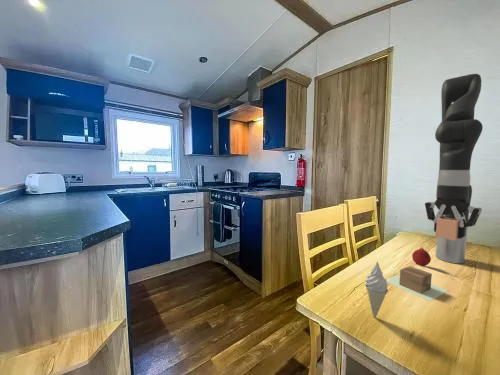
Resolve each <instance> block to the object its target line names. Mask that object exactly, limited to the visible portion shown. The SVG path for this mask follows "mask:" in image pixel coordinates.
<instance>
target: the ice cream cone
mask: <svg viewBox="0 0 500 375" xmlns="http://www.w3.org/2000/svg"><path fill="white" fill-rule="evenodd" d="M370 271H371V272H370V274H369V275H367V276H366V279H365V282H366V283H365V284H364V285H365V288H366V292H367V295H368V301H369V304H370V309H371V312H372V316H373V318H374V319H376V318H377V316H378V313H379V311H380V309H381V306H382V304H383V301H384V300H385V297H386V295H387V293H388V292H389V289H388V282H387V281H386V278H385V277H384V274H383V271H382V269H381V267H380V264H379V262H378V261H377V262H376V263H375V264H374V267H373V268H372V269H371V270H370Z"/></svg>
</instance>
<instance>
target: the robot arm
mask: <svg viewBox="0 0 500 375" xmlns="http://www.w3.org/2000/svg"><path fill="white" fill-rule="evenodd" d="M481 91H482V77H481V75H480V74H479V73H470V74H467V75H466V74H464V75H460V76H457V77H451V78H448V79H445V80H444V81H443V83H442V85H441V91H440V92H441V93H440V94H441V96H440V97H441V122H440V123H439V125H438V126H437V128H436V130H435V134H434V136H435V140H436V141H437V142H438V143H439V170H438V176H437V184H436V196H435V197H436V200H435V201H434V202H433V201H428V202H425V203H424V206H425V212H426V216H427V220H429V221H432V222H433V224H434V225H433V231H434V232H435V233H436V227H437V218H443V217H448V218H454V219H456V220H457V221H459V227H458V237H457V238H459V239H458V240H451V239H446V238H442V237H437V236H436V238H437V239H436V248H435V249H436V250H435V257H436V258H437V259H439V260H442V261H445V262H447V263H453V264H465V260H466V250H467V241H468V240H467V238H468V228H469V227H473V226H476V224H477V221H478V220H479V217H480V215H481V213H482V210H483V209H482V208H481V207H476V206H473V205H471V200H472V195H473V188H472V185H471V161H472V155H473V152H474V150H475V147H476V144H477V143H478V140H479V139H480V137H481V134H482V131H483V124H482V122H481V121H480V120H478V119H476V118H475V109H476V108H475V107H476V106H477V105H476V104H477V103H478V100H479V98H480V94H481ZM435 208H437V210H438V211H437V213H436V214H435ZM469 215H470V216H469Z"/></svg>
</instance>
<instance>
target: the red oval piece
mask: <svg viewBox="0 0 500 375" xmlns="http://www.w3.org/2000/svg"><path fill="white" fill-rule="evenodd" d="M411 257H412V260H413V262H414V263H415V264H416V265H417V266H419V267H420V266H421V267H425V266H428V265H429V264H430V263H431V260H432V257H431V255H430V253H429V252H428V251H427V250H425V249H424V247H423V246H420V248H418V249H416V250H414V251H413V253H412V256H411Z"/></svg>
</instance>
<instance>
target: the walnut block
mask: <svg viewBox="0 0 500 375" xmlns="http://www.w3.org/2000/svg"><path fill="white" fill-rule="evenodd" d="M399 274H400V282H399V285H401V286H404V287H406V288H408V289H411V290H413V291H415V292H417V293H420V294H422V293H424V292H426V291H428V290H430V289H431V284H432V279H433V278H432V276H433V273H431V272H429V271H426V270H422V269H420V268H417V267H415V266H412V265H410V266H407V267H404V268H402V269H400V270H399Z"/></svg>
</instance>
